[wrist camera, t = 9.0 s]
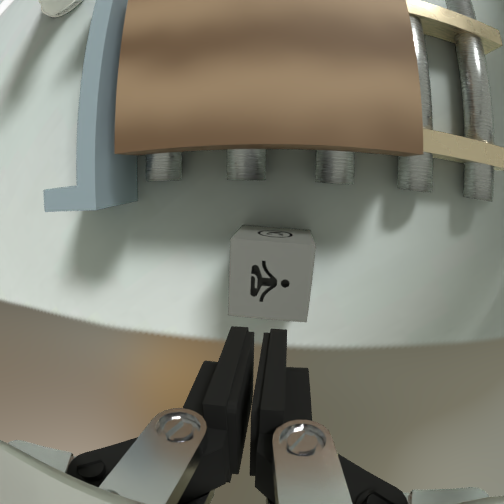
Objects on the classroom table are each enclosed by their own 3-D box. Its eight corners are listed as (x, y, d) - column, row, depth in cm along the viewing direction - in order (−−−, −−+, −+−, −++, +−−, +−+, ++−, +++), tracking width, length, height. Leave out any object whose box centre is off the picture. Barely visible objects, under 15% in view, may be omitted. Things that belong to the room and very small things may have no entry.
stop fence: (108, -6, 19) (76, -31, 13) (154, -19, 18) (127, -51, 12) (89, 202, 24) (44, 211, 18) (137, 200, 23) (95, 210, 18)
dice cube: (242, 224, 23) (230, 238, 18) (309, 230, 22) (315, 245, 18) (240, 287, 24) (228, 315, 19) (303, 293, 24) (306, 322, 19)
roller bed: (152, -8, 19) (138, -23, 16) (476, 17, 15) (491, 6, 12) (137, 180, 23) (118, 182, 20) (493, 201, 20) (513, 205, 17)
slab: (149, -9, 16) (133, -26, 13) (385, -16, 14) (396, -36, 11) (136, 155, 19) (114, 153, 17) (404, 156, 17) (423, 154, 15)
